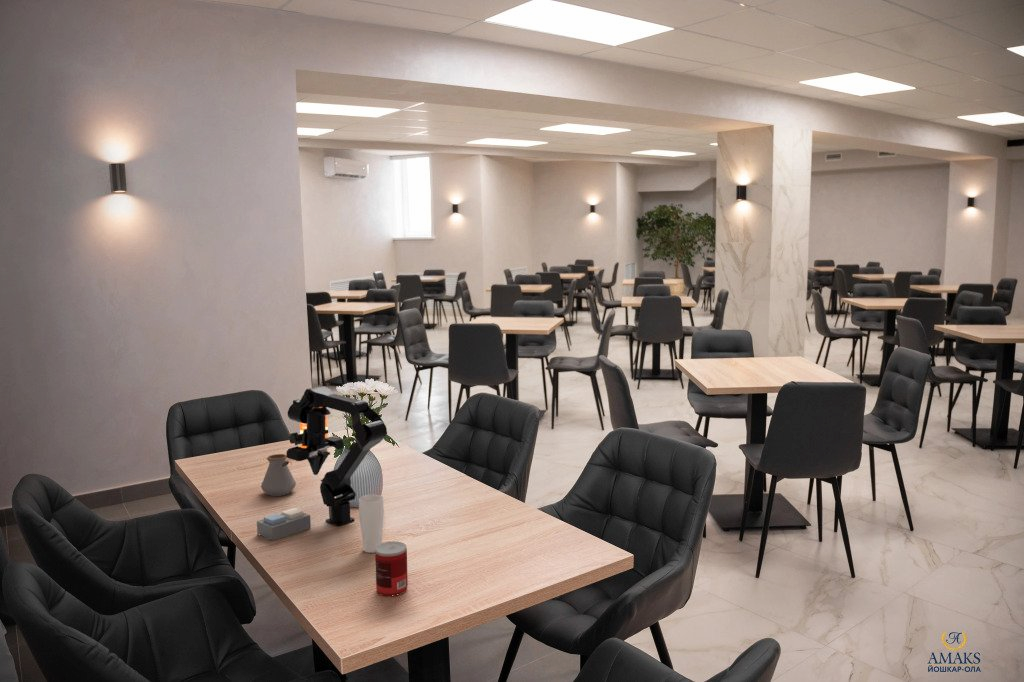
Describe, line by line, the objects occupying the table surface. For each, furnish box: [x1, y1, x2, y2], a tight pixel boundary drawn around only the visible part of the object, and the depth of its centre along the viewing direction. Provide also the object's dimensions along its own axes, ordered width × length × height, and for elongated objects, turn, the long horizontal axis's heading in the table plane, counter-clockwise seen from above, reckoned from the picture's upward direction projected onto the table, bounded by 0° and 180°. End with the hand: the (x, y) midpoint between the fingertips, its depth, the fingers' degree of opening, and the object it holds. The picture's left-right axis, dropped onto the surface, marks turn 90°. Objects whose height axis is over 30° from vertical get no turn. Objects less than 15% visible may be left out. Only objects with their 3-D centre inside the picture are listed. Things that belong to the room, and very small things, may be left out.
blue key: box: [263, 512, 286, 525], centre depth 224 cm, size 4×4×4 cm
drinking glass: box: [358, 493, 385, 554], centre depth 211 cm, size 7×7×15 cm
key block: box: [256, 512, 312, 541], centre depth 226 cm, size 8×13×4 cm, turn 140°
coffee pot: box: [260, 453, 297, 497], centre depth 256 cm, size 21×12×15 cm, turn 30°
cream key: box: [281, 507, 304, 519], centre depth 228 cm, size 4×4×4 cm
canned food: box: [374, 540, 409, 597], centre depth 187 cm, size 8×8×11 cm
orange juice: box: [299, 407, 329, 448], centre depth 317 cm, size 8×9×20 cm
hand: (315, 474), depth 238 cm, fingers closed
